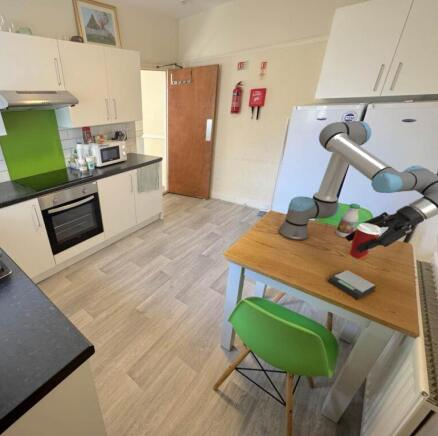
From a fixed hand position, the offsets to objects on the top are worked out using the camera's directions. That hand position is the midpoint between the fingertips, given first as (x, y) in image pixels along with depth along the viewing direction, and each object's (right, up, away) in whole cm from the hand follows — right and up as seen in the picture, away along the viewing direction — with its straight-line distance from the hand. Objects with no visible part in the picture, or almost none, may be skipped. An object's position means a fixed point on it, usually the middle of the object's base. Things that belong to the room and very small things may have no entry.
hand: (352, 244), depth 100 cm
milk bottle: (+33, +1, +45) cm, 55 cm away
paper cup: (+4, -5, +2) cm, 6 cm away
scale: (+5, -20, +7) cm, 21 cm away
